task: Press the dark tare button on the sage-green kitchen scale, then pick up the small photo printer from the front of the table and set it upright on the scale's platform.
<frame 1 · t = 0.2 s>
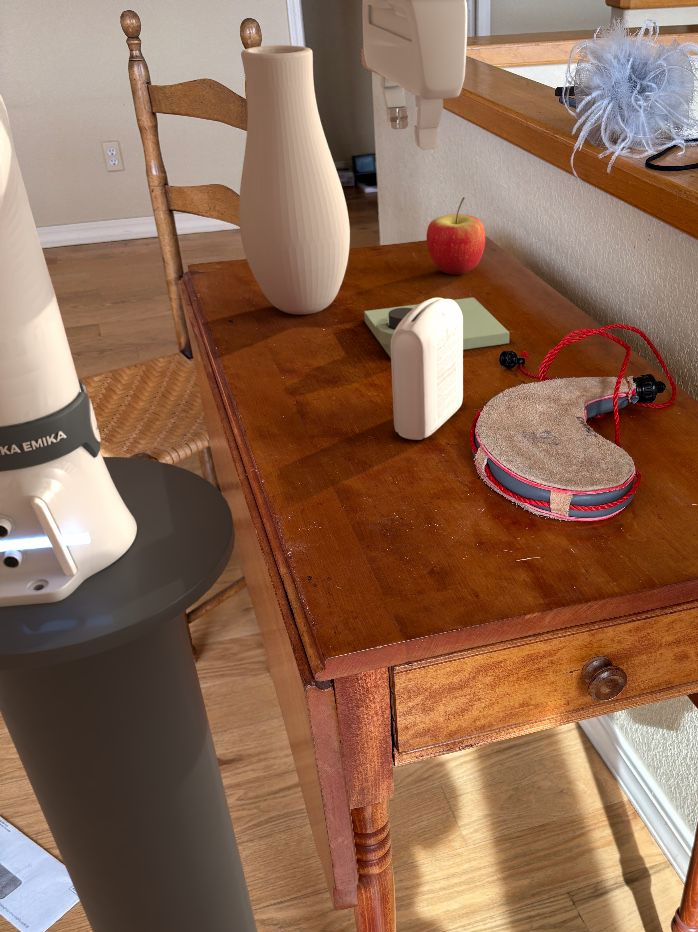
hand: (411, 137, 88), 26 cm above the table, tool pointing down, fingers open, 8 cm apart
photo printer: (429, 421, 98), on the table
apple: (456, 273, 136), on the table
tare button: (403, 320, 111), point 3 cm above the table, slide at 0.1 cm
vase: (303, 309, 124), on the table
scale: (435, 332, 117), on the table
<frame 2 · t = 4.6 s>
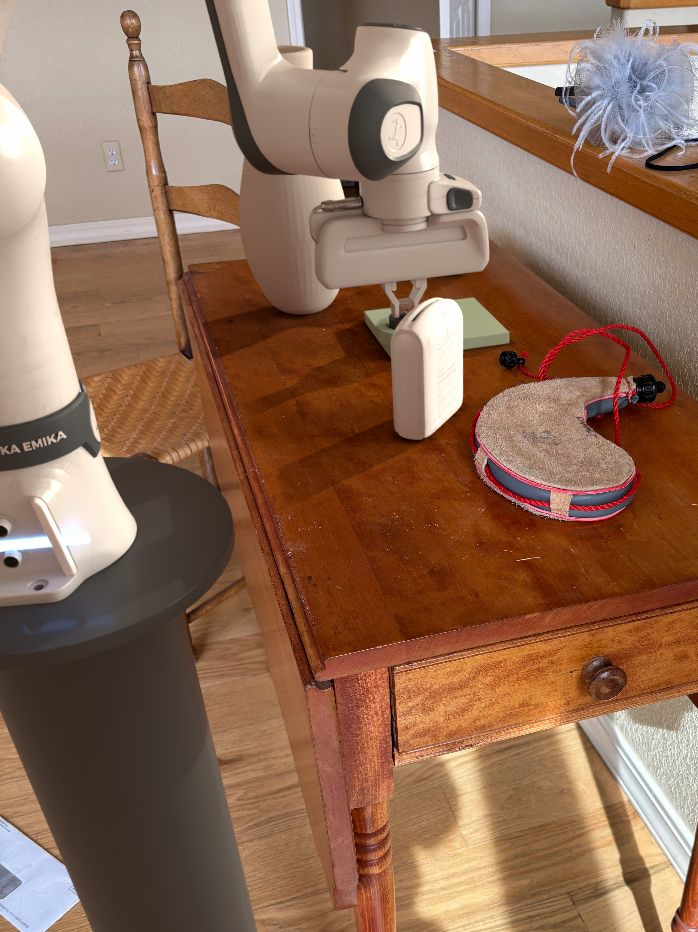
hand: (404, 315, 111), 4 cm above the table, tool pointing down, fingers closed, pressing on tare button
tare button: (403, 323, 111), point 3 cm above the table, slide at -0.3 cm, touching gripper
everything else where it was.
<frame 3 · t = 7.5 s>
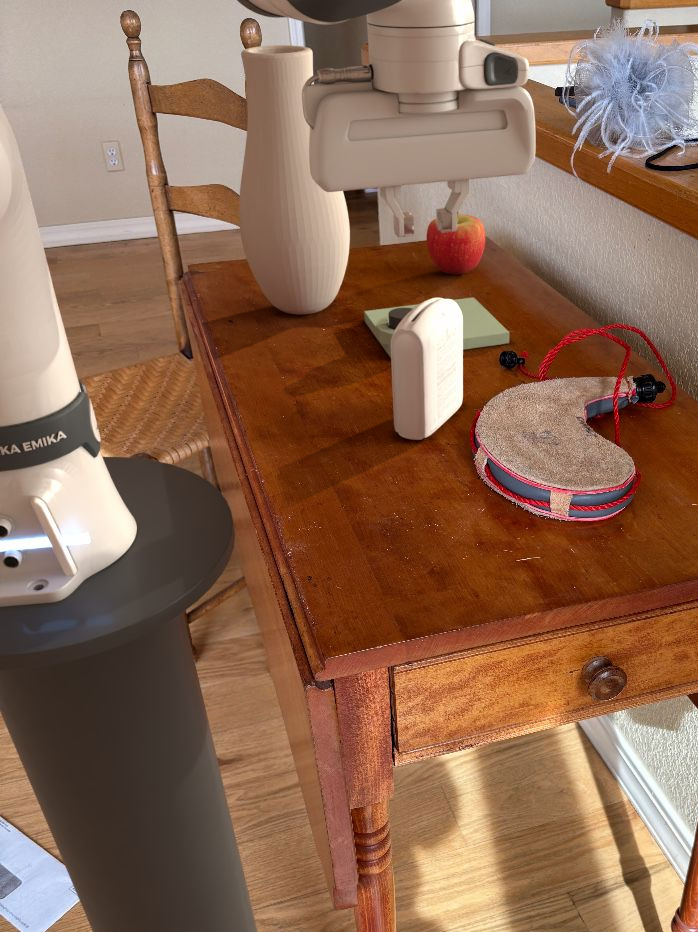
hand: (425, 232, 86), 19 cm above the table, tool pointing down, fingers open, 3 cm apart
tare button: (403, 320, 111), point 3 cm above the table, slide at 0.1 cm
everything else where it was.
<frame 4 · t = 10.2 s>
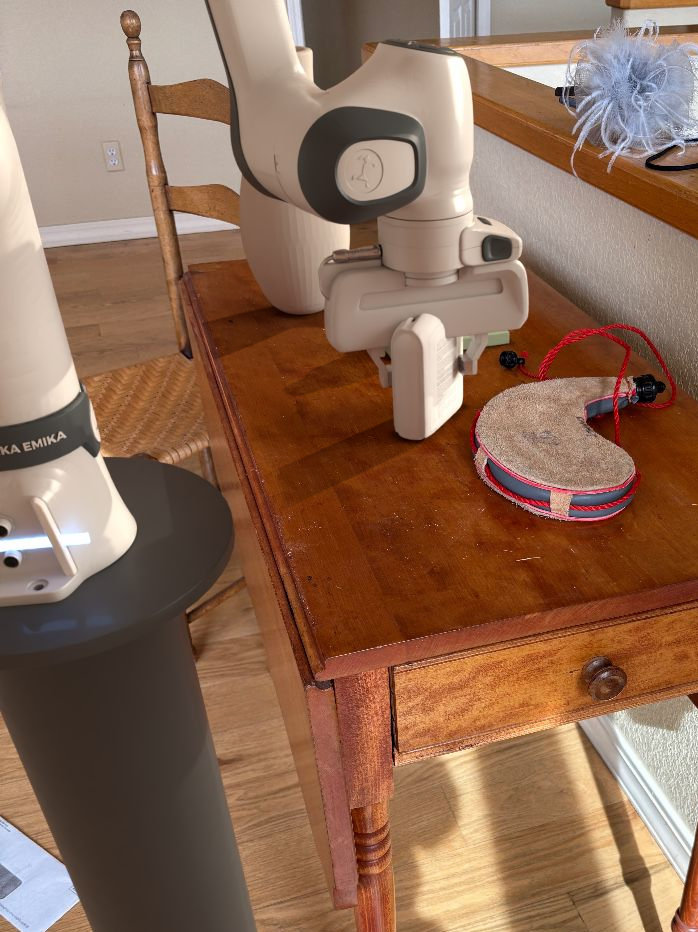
hand: (428, 379, 95), 5 cm above the table, tool pointing down, fingers closed on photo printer, 7 cm apart
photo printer: (429, 421, 98), on the table, touching gripper
everything else where it was.
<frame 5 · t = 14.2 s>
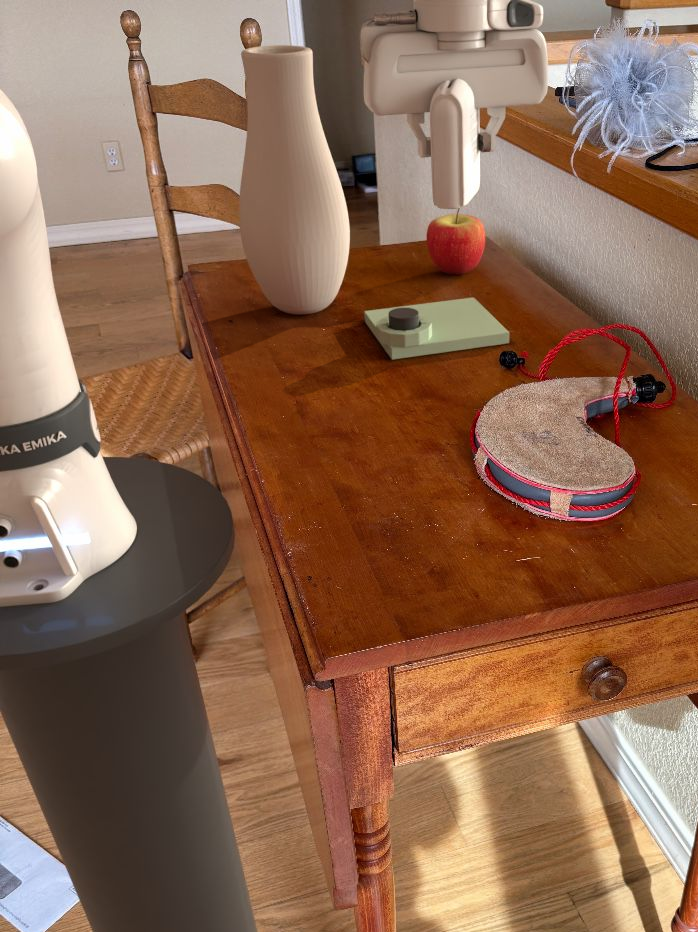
hand: (456, 153, 104), 21 cm above the table, tool pointing down, fingers closed on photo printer, 6 cm apart
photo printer: (457, 200, 107), point 16 cm above the table, touching gripper
everything else where it was.
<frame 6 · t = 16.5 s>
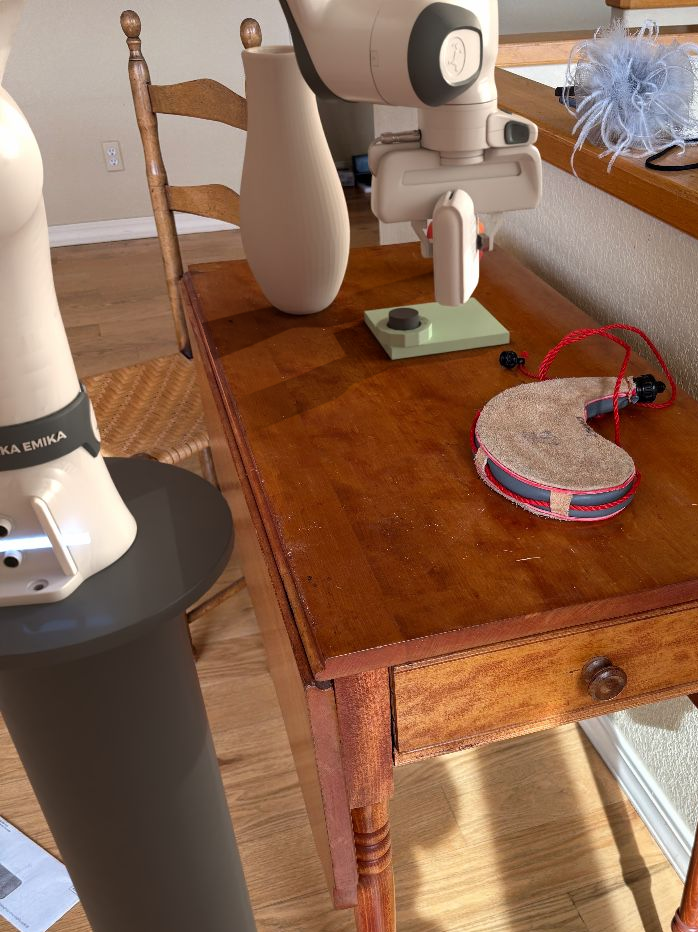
hand: (457, 253, 112), 9 cm above the table, tool pointing down, fingers closed on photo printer, 6 cm apart
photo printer: (457, 294, 114), point 5 cm above the table, touching gripper
everything else where it was.
when the fingers open (6 cm above the table, at t = 18.2 s): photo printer stays where it is, resting on scale.
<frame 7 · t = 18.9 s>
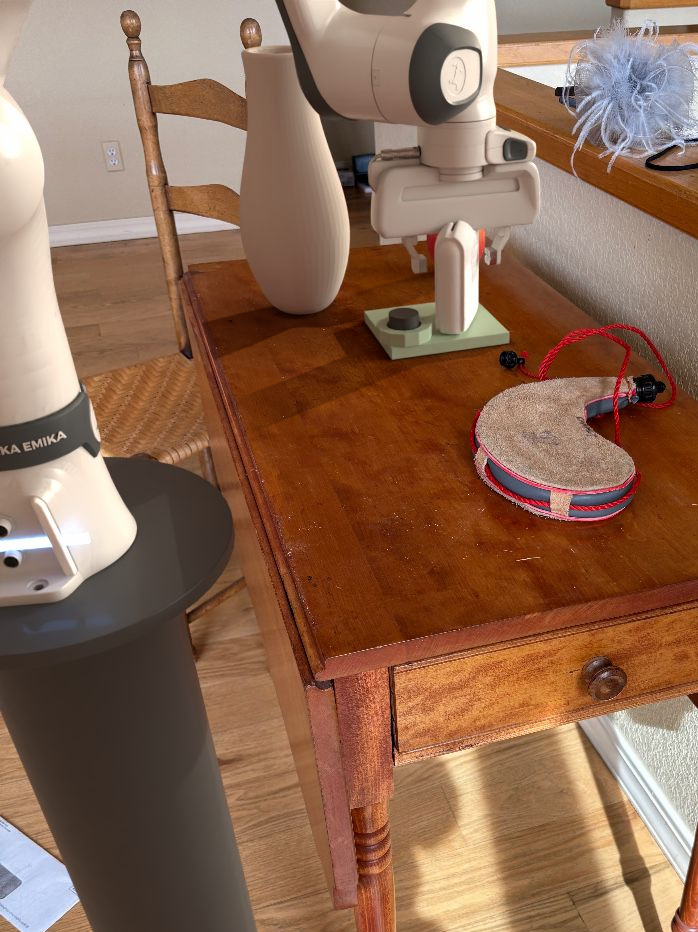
hand: (456, 267, 113), 8 cm above the table, tool pointing down, fingers open, 8 cm apart
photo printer: (457, 322, 117), point 1 cm above the table, touching scale
everything else where it was.
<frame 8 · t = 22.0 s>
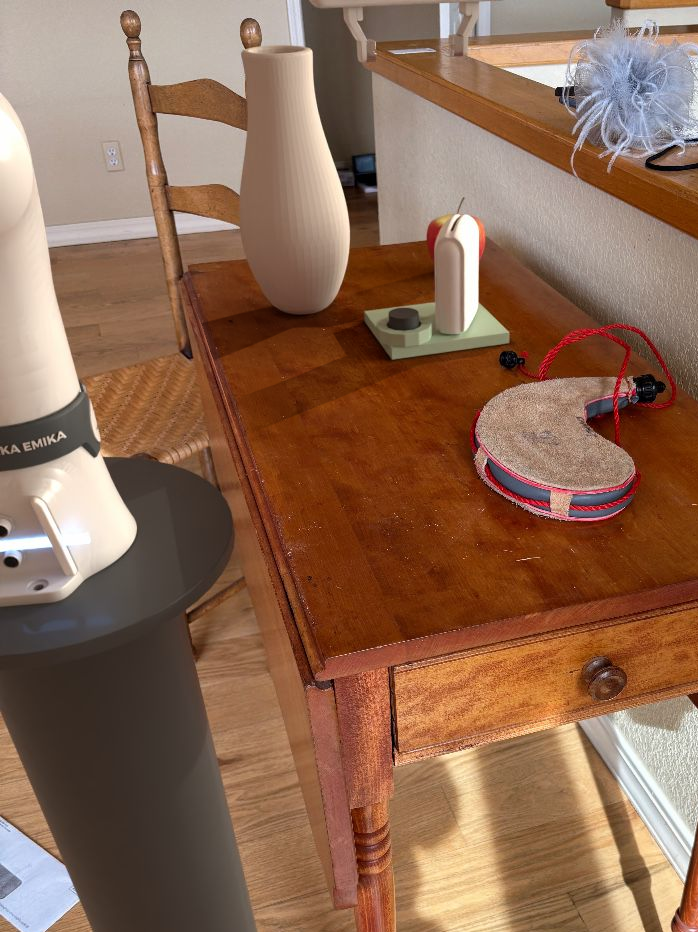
hand: (413, 58, 92), 31 cm above the table, tool pointing down, fingers open, 8 cm apart
nothing on the table moved.
at the end: tare button pushed in 0.9 cm at the most during the clip, back to where it started at the end; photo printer inside the target area on the scale (1.6 cm from its centre), point 1.2 cm above the scale's base; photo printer touching scale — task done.
